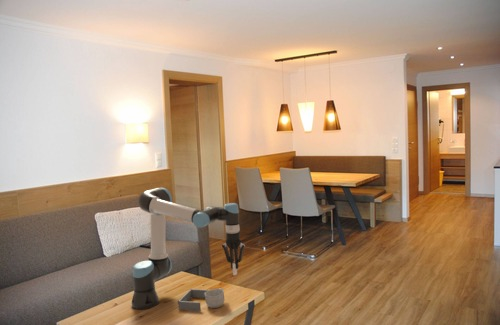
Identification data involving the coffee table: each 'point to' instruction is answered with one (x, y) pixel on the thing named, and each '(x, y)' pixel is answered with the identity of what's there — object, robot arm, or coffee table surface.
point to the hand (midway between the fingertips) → (235, 274)
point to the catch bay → (187, 305)
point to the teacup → (214, 297)
